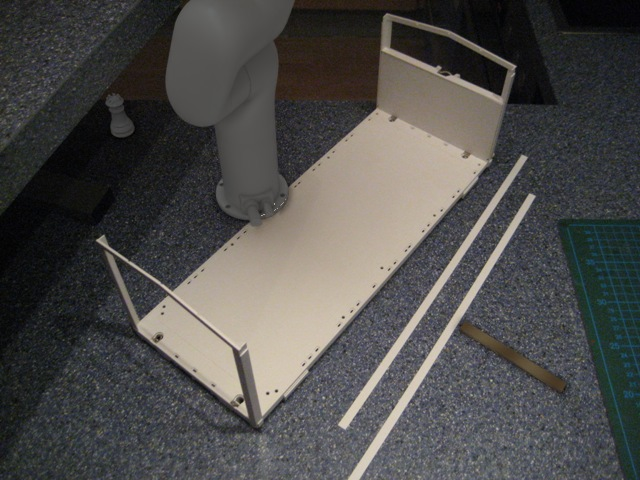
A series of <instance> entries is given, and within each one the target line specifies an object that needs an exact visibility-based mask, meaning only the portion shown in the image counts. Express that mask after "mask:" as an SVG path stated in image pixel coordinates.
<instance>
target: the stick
mask: <svg viewBox="0 0 640 480" xmlns="http://www.w3.org/2000/svg"><path fill="white" fill-rule="evenodd" d="M459 331H460V332H462V333H463V334H465V335H466V336H468V337H470V338H471V339H473V340H474V341H476V342H478V343H479V344H481V345H483V346H484V347H485V348H487V349H489V350H491V351H492V352H494V353H495V354H496V355H499V356H500V357H502V358H503V359H505V360H506V361H508V362H509V363H511V364H512V365H515V366H516V367H518V368H519V369H521V370H522V371H524V372H526V373H527V374H529V375H531V376H532V377H534V378H536V380H539V381H540V382H541V383H543V384H545V385H547V386H548V387H549V388H552V389H553V390H555V391H556V392H558V393H560V394H562V392H563V390H564V389H565V388H566V386H567V382H565V381H564V380H563V379H561V378H559V377H557V376H555V374H553V373H551V372H550V371H547V370H546V369H544V368H543V367H542V366H540V365H538V364H537V363H535V362H533V361H532V360H530V359H528V358H527V357H525V356H523V355H521V353H518V352H516V351H515V350H513V349H512V348H510V347H509V346H507V345H506V344H503V343H502V342H501V341H500V340H498V339H496V338H494V337H492V336H491V335H489V334H487V333H486V332H484V331H482V330H481V329H479V328H478V327H476V326H474V325H473V324H471V323H470V322H468V321H466V320H465V321H463V323H462V325H461V326H460V327H459Z"/></svg>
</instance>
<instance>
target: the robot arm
mask: <svg viewBox="0 0 640 480" xmlns="http://www.w3.org/2000/svg"><path fill="white" fill-rule="evenodd" d="M295 2H296V0H189V1H188V2H187V3H185V5H184V6H183V7H182V8H181V11H180V12H179V13H178V15H177V18H176V19H175V22H174V27H173V31H172V37H171V42H170V48H169V54H168V58H167V63H166V64H167V65H166V69H165V92H166V95H167V99H168V102H169V104H170V106H171V107H172V110H173V111H174V112H175V114H176V115H177V116H178V117H179V118H180V119H181V120H182V121H184V122H185V123H187V124H189V125H191V126H194V127H199V128H205V127H207V128H208V127H211V126H214V127H213V128H214V133H215V139H216V146H217V153H218V159H219V165H220V169H221V170H220V171H221V179H219V181H218V183H217V185H216V188H215V198H216V203H217V204H218V205H217V206H218V207H219V208H220V210H222V212H224V213H225V214H226V215H228V216H230V217H232V218H235V219H237V220H243V221H249V223H250V225H251V227H253V228H254V227H255V228H257V227H259V226H261V225H262V223H263V220H262V219H266V218H271V217H273V216H274V215H275V214H277V213H278V212H279V211H281V209H283V207H285V204H286V203H287V201H288V200H289V199H288V198H289V186H288V182H287V180H286V179H285V177H284V176H283V175H282V174H281V173H279V163H278V162H279V161H278V159H279V158H278V145H277V142H278V141H277V128H276V126H277V125H276V89H277V84H278V77H279V65H280V63H279V53H278V49H277V46H276V43H275V40H277V38H278V37H279V36H280V35H281V34H282V32H283V31H284V29H285V28H286V26H287V24H288V21H289V18H290V15H291V13H292V10H293V7H294V4H295ZM285 199H286V200H285ZM283 202H284V203H283ZM274 203H275V205H274ZM282 203H283V204H282ZM281 204H282V205H281ZM280 205H281V206H280ZM279 206H280V207H279ZM277 208H278V209H277ZM275 209H276V210H275ZM274 210H275V211H274ZM263 214H265V215H263ZM261 215H263V216H261Z"/></svg>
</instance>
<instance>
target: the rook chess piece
mask: <svg viewBox="0 0 640 480" xmlns="http://www.w3.org/2000/svg"><path fill="white" fill-rule="evenodd" d="M111 94H112V95H111ZM111 94H108V95H107V96H106V100H105V105H106V106H107V107H108V111H109V112H110V114H111V115H110V116H111V122H110V129H109V130H110V133H111V134H112V135H113V136H114V137H116V138H119V139H124V138H128V137H130V136H131V135H132V134H133V133H134V131H135V128H136V127H135V125H134V122H133V121H132V120H131V119H130V117H129V116H127V113H126V111H125V106H124V105H123V103H124V102H125V101H124V98H123V97H122V96H121V95H120V94H119V93H116V92H115V93H114V92H112V93H111Z"/></svg>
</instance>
